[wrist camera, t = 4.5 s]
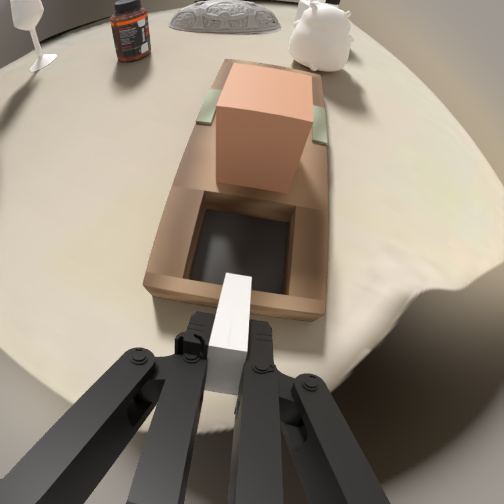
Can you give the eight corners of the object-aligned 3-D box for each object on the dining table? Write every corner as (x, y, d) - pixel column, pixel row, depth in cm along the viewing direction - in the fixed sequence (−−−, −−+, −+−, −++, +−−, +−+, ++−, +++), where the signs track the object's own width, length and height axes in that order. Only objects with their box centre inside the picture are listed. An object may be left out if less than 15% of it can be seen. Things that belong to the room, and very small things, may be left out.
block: (215, 182, 23) (216, 105, 16) (229, 133, 25) (233, 62, 18) (287, 193, 23) (313, 122, 16) (291, 144, 26) (311, 76, 18)
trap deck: (152, 295, 22) (141, 283, 19) (224, 76, 34) (225, 57, 31) (314, 321, 22) (329, 313, 19) (317, 91, 35) (323, 73, 32)
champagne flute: (59, 57, 37) (38, -34, 15) (32, 74, 35) (4, -16, 13) (52, 52, 39) (32, -30, 17) (27, 68, 36) (2, -14, 14)
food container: (289, 37, 42) (293, 8, 36) (157, 41, 41) (154, 11, 35) (279, 20, 50) (282, -4, 44) (172, 22, 48) (171, -1, 42)
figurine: (342, 88, 36) (366, 24, 25) (279, 70, 36) (293, 2, 25) (343, 63, 40) (362, 9, 29) (289, 48, 40) (302, -8, 30)
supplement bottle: (156, 54, 37) (151, -3, 26) (123, 66, 35) (112, 8, 24) (144, 45, 38) (139, -7, 28) (114, 56, 36) (104, 3, 26)
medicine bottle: (320, 27, 48) (331, -15, 37) (338, 40, 45) (352, -5, 34) (293, 26, 46) (302, -20, 35) (310, 38, 44) (323, -11, 33)
